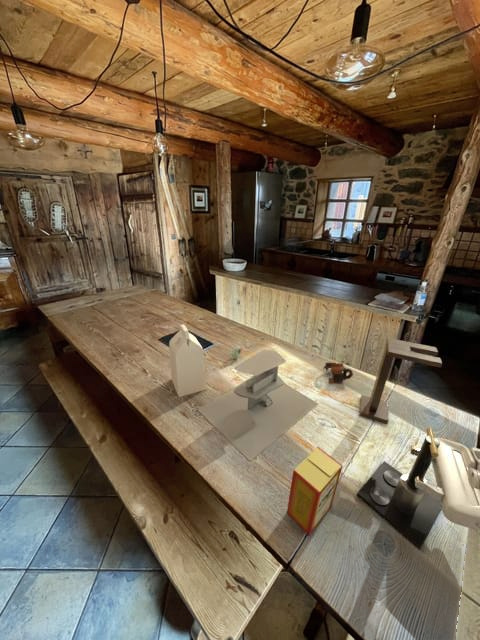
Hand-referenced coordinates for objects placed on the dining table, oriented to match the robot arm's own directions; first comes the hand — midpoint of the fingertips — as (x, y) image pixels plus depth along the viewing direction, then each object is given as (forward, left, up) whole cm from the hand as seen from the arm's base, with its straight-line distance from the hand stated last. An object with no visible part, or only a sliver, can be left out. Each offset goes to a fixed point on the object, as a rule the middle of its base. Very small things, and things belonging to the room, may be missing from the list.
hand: (413, 464), depth 62 cm
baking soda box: (+13, +19, -15) cm, 27 cm away
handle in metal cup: (-1, 0, -13) cm, 13 cm away
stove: (0, -1, -14) cm, 14 cm away
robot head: (+77, -8, -15) cm, 79 cm away
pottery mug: (+39, -33, -15) cm, 53 cm away
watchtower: (+47, +5, -14) cm, 49 cm away
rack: (+16, -29, -14) cm, 36 cm away
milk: (+74, +19, -15) cm, 78 cm away
